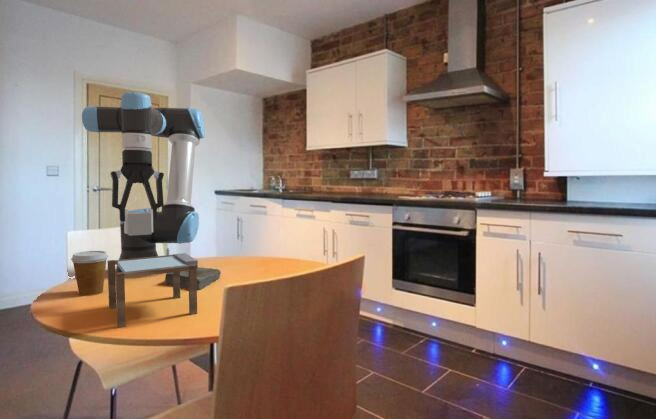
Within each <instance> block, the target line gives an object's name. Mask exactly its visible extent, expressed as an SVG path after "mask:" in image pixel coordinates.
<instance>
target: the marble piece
mask: <svg viewBox="0 0 656 419" xmlns="http://www.w3.org/2000/svg"><path fill="white" fill-rule="evenodd" d="M221 273H222V272H221V270H220V269H218V268H207V267H199V266H198V269H197V291H200V290H203V289H205V288H206V286H207V287H208V286H210V285H212V284H214V283H215V282H217V281H219V280H220V279H221V278H220V277H221ZM218 279H219V280H218ZM164 280H165V281H164V282H165V284H167V285H169V286H172V287H173V272H172V273H165V278H164ZM216 280H217V281H216ZM211 283H212V284H211ZM180 288H183V289H187V288H188V290H189V271H180Z"/></svg>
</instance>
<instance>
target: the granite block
mask: <svg viewBox="0 0 656 419" xmlns="http://www.w3.org/2000/svg"><path fill="white" fill-rule="evenodd" d="M128 224H129V234H128V235H129V236H132V235H149V234H152V227H151V213H149V212H129V213H128Z"/></svg>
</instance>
